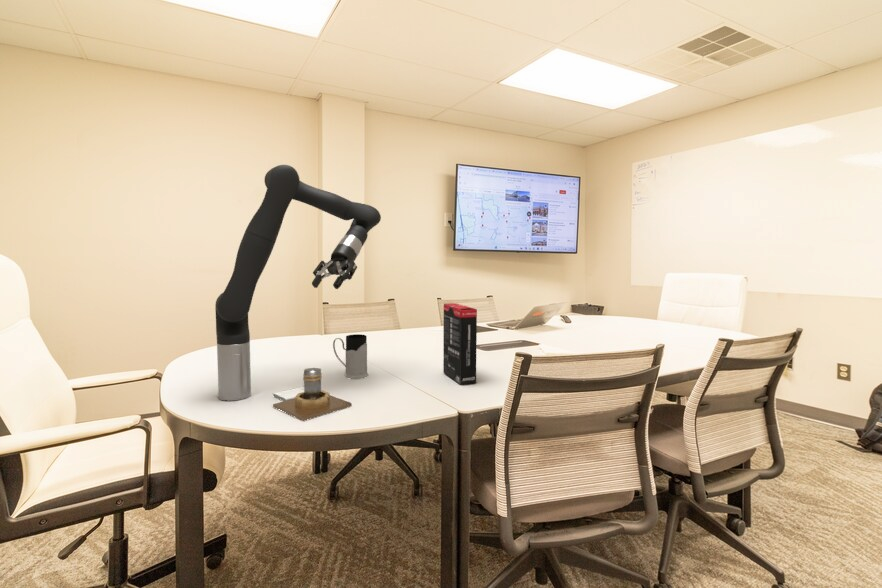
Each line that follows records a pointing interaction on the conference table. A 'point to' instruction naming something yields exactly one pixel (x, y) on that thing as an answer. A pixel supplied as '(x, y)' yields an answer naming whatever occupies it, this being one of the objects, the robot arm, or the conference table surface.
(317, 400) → the octagon frame base plate
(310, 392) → the cylinder
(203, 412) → the conference table surface
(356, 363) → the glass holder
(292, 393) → the external hard drive
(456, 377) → the graphics card box
